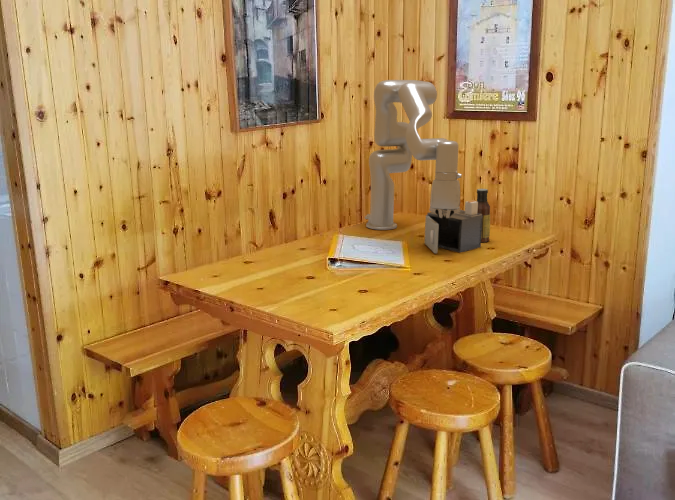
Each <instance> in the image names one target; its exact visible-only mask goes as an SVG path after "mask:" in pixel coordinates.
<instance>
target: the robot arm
mask: <svg viewBox="0 0 675 500" xmlns="http://www.w3.org/2000/svg"><path fill="white" fill-rule="evenodd" d="M437 91H438V90H437V89H436V86H435V85H434V84H433V83H432V82H429V81H424V80H416V79H386V80H382V81H379V82H378V83H377V84H376V85H375V88H374V91H373V101H374V105H375V118H374V119H375V120H374V133H373V134H374V136H373V138H374V142H375V144H376V146H379V147H396V148H393V149H391V148H390V149H389V148H388V149H377V150H374V151H373V152H372V153H371V154H370V155H369V158H368V166H369V173H370V174H369V175H370V211H369V212H370V213H367V214H366V215H365V216H364V219H365V220H367V222H366V224H365V225H366V228H367V229H371V230H377V231H387V230H394V229H397V227H398V224H397V223H396V222H394V208H395V207H394V206H395V183H394V181H393V179H392V177H391V176H390V174H396V173H399V174H400V173H406V172H408V171H409V170H410V168H411V166H412V162H413V161H412V159H415V160H417V161H435V169H434V170H435V171H434V173H435V175H434V179H433V180H432V183H431V192H430V202H429V204H430V205H429V206H430V207H429V209H428V210H429V211H428V212H435V213H436V214H437V215H438V216H439V217H440V226H442V228H441V229H446V228H447V227H448V226H449V217H450V216H451V215H452V214H454V213H459V212H460V210H461V206H460V205H461V185H460V184H461V183H460V180H458V179H459V178H462V173H459V172H458V167H459V165H458V164H459V143H458V142H457V141H455V140H449V139H447V138H443V137H440V138H439V137H437V138H436V137H435V138H434V137H433V138H421V136H420V135H419V132H418V129H420V128H422V127H423V126H425V125H426V124H428V122H430V121H431V119H432V117H433V113H432V110H431V108H430V106H432V105H433V104H435V102H436V100H437V97H438V92H437ZM395 103H401V105H402V107H403V109H404V112H405V114H406V117H407V118H408V120H409V123H408V122H405V121H398V110H397V107H396V105H395ZM443 209H446V210H447V214H446V216H445V217H444V215H443Z"/></svg>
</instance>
